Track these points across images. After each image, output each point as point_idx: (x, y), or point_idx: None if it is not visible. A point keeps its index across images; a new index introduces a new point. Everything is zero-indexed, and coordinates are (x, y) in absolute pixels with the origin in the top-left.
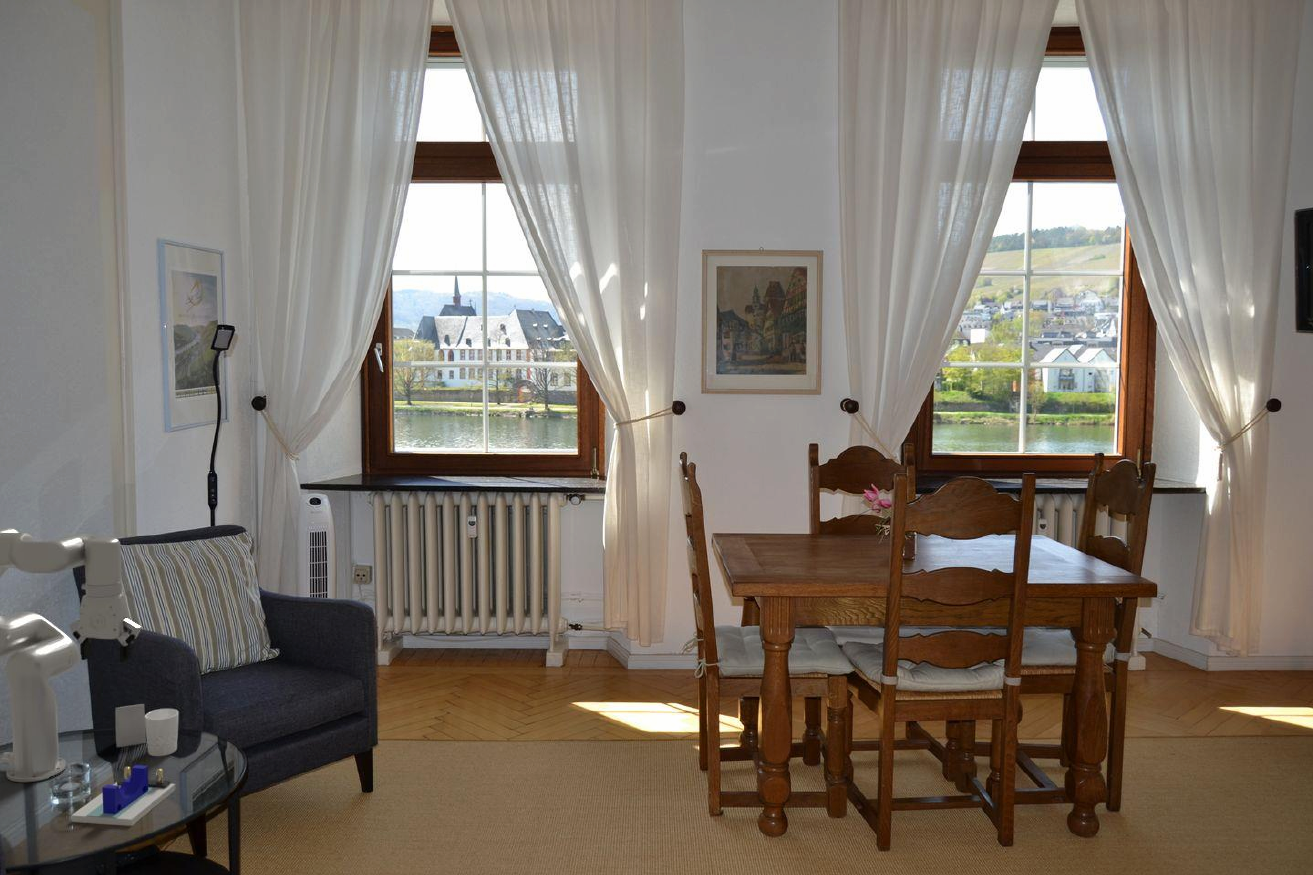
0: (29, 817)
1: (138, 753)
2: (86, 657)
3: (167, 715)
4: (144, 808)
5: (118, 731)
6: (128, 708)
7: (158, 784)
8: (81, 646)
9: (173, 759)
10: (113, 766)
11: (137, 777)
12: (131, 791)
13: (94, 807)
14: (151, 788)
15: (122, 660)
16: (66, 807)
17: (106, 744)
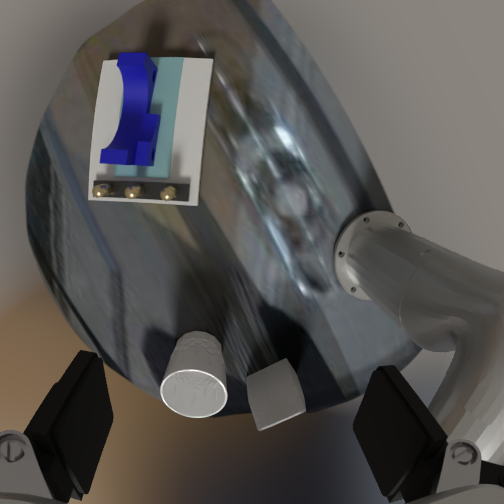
0: (296, 76)
1: (236, 339)
2: (371, 390)
3: (198, 406)
4: (98, 99)
5: (288, 375)
6: (282, 415)
7: (106, 180)
8: (435, 425)
9: (160, 320)
10: (253, 286)
11: (120, 145)
12: (128, 124)
13: (185, 89)
14: (117, 172)
15: (77, 354)
16: (252, 112)
17: (308, 364)
